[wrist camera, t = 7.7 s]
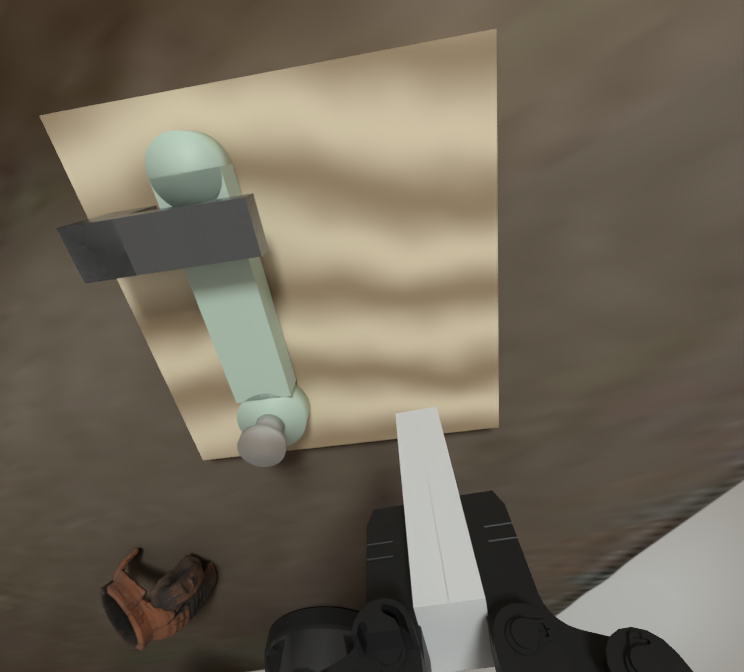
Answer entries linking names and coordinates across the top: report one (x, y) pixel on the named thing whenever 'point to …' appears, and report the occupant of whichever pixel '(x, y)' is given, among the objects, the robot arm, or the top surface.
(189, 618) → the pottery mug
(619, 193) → the top surface
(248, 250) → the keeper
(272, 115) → the base board
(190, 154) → the link
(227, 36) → the top surface
